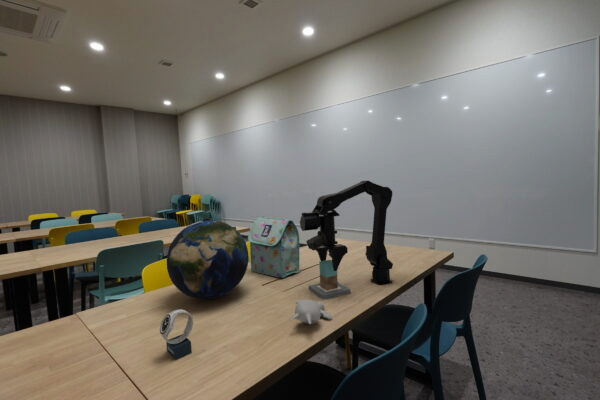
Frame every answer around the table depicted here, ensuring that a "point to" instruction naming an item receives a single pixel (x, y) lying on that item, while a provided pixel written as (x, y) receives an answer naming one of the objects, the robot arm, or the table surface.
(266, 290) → the table surface
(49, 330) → the table surface
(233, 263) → the globe
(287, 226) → the lunch bag
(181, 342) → the watch
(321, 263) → the teal block
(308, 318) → the toy creature
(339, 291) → the baseplate
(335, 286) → the walnut block
